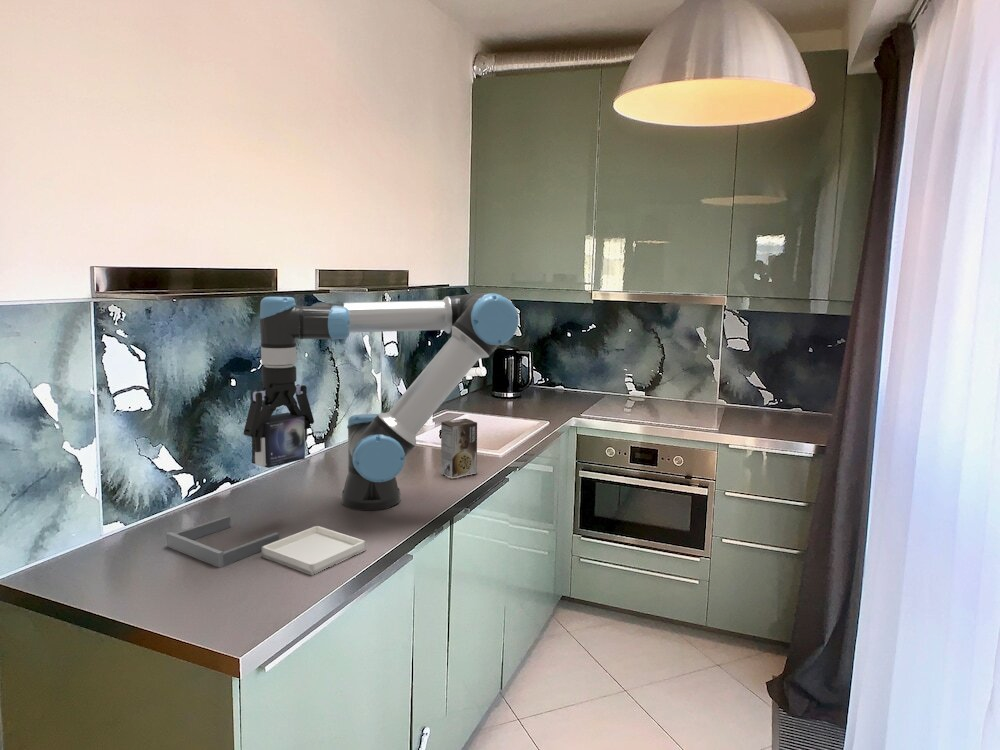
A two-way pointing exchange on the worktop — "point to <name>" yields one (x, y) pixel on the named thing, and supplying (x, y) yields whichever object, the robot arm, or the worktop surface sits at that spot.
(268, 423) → the small box
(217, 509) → the worktop surface
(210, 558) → the bay
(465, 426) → the coffee box
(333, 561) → the tray
